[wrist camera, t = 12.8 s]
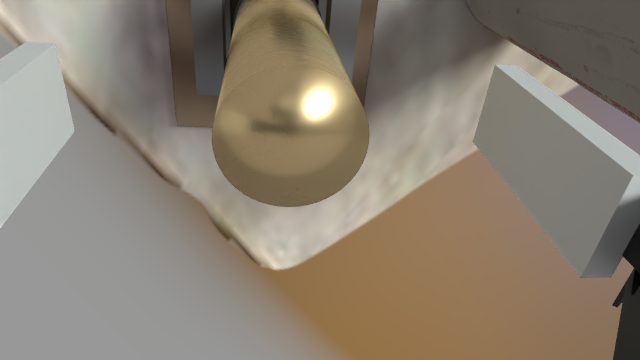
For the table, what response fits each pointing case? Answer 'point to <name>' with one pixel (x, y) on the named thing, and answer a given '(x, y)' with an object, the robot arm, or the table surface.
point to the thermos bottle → (576, 41)
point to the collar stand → (215, 38)
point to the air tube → (287, 107)
